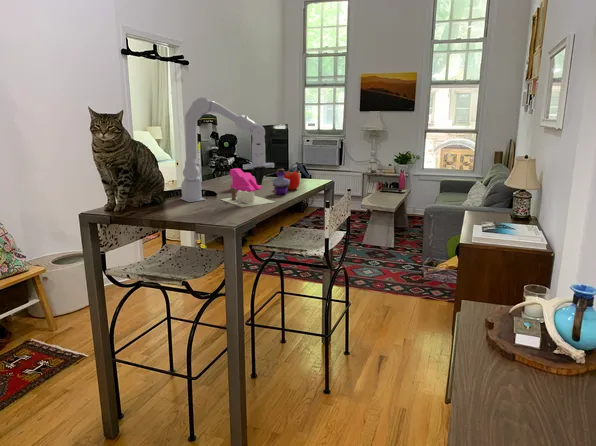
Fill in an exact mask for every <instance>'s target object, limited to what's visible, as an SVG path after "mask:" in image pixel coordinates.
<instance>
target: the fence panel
mask: <svg viewBox="0 0 596 446" xmlns="http://www.w3.org/2000/svg"><path fill="white" fill-rule="evenodd" d="M254 195H255V191H251V192H247V191H241V190H239V191H237V190H236V197H237V200H238V198H239V197H241V198H242V201H252V202H254V201H255V200H254Z"/></svg>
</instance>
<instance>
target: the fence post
mask: <svg viewBox="0 0 596 446" xmlns="http://www.w3.org/2000/svg"><path fill="white" fill-rule="evenodd" d="M230 191H231V198H232V200H236V197H237V190H236V188H234V187H233V188H231V187H230Z"/></svg>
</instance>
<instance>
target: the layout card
mask: <svg viewBox="0 0 596 446" xmlns="http://www.w3.org/2000/svg"><path fill="white" fill-rule="evenodd" d="M219 200H220V201H223V202H226V203H229V204H232V205H235V206H237V207H240V208H247V207H252V206H253V207H254V206H262V205H268V203H269V204H275V202H276V201H275V200H271V199H267V198H264V197H261V196H258V195H255V194H254V200H255V201H254V202H252V201H242V204H238V200H237V196H236V200H232V197H227V198H220V199H219Z"/></svg>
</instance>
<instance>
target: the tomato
mask: <svg viewBox="0 0 596 446" xmlns="http://www.w3.org/2000/svg"><path fill="white" fill-rule="evenodd" d="M285 172H286V175H284V178H286V179H289V180H290V183H289V188H288V189H287V191H288V190H289V191H295V190H297V188H299V186H300V183H301V181H300V180H301V179H300V178H301V177H300V175H299V172H297V171H293V172H290V171H285ZM294 189H295V190H294Z"/></svg>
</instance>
